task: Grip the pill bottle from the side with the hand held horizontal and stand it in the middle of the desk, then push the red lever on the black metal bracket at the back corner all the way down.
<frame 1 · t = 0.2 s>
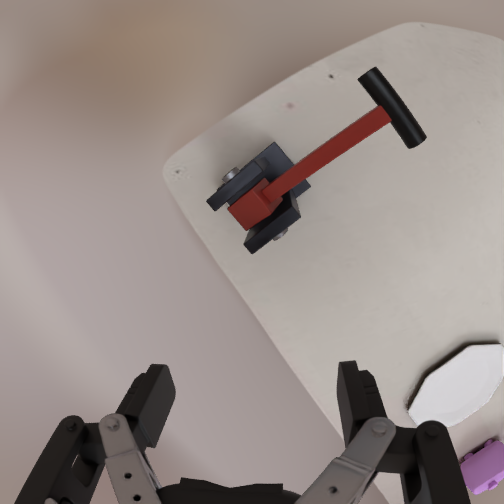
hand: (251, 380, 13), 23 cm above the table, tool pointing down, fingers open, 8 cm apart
bracket: (264, 186, 33), on the table
teapot: (478, 453, 47), on the table
plate: (458, 385, 40), on the table
lever: (313, 161, 19), point 13 cm above the table, hinge at 25.0°
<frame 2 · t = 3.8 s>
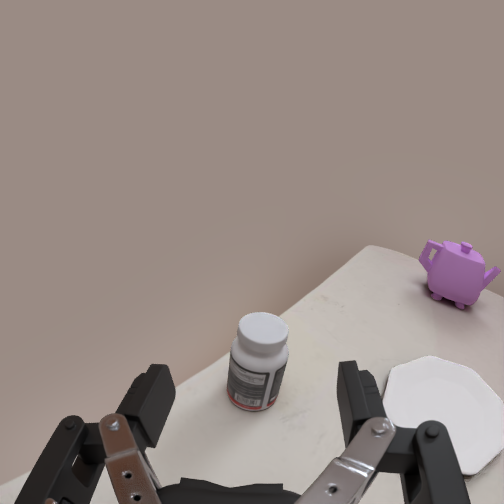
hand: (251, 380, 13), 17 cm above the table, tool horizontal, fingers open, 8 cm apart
pill bottle: (251, 394, 32), on the table
teapot: (448, 296, 58), on the table
plate: (445, 415, 29), on the table
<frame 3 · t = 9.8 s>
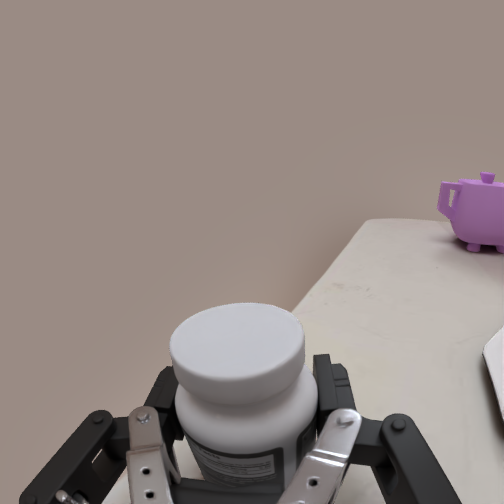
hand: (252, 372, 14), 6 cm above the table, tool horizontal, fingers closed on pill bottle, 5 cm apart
pill bottle: (259, 477, 13), on the table, touching gripper
teapot: (484, 245, 42), on the table
when the fingers open (6 cm above the table, at t = 18.7 s): pill bottle stays where it is, on the table.
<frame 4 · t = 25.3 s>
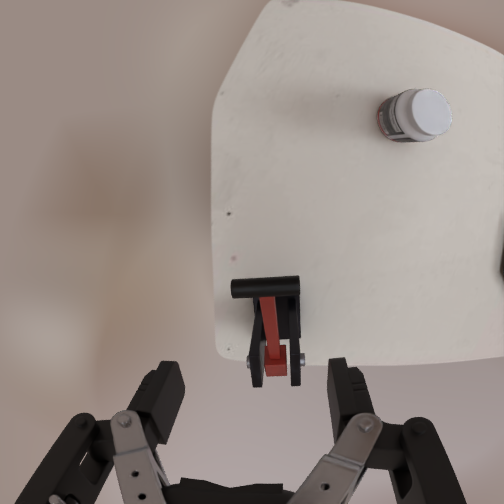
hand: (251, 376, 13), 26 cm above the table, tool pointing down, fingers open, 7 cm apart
pill bottle: (396, 120, 32), on the table
bracket: (277, 310, 41), on the table
lever: (272, 332, 27), point 13 cm above the table, hinge at 24.3°
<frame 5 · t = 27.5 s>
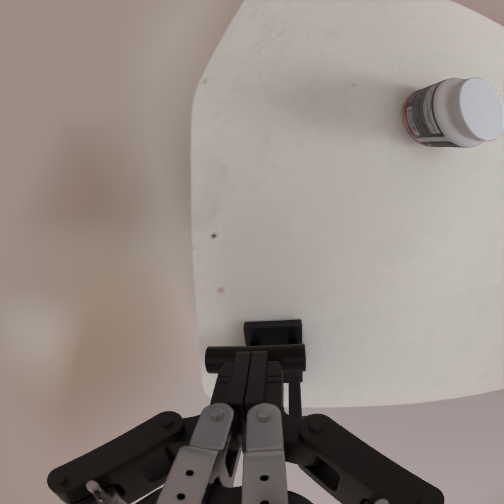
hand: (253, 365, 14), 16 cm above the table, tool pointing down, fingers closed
pill bottle: (425, 118, 24), on the table
bracket: (275, 350, 33), on the table
lever: (266, 402, 19), point 13 cm above the table, hinge at 22.5°, touching gripper
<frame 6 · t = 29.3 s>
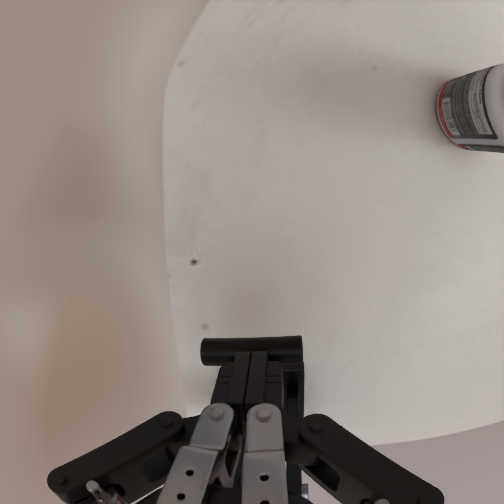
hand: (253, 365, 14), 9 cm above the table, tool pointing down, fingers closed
pill bottle: (461, 114, 18), on the table
bracket: (271, 393, 27), on the table
lever: (260, 441, 16), point 10 cm above the table, hinge at -11.3°, touching gripper
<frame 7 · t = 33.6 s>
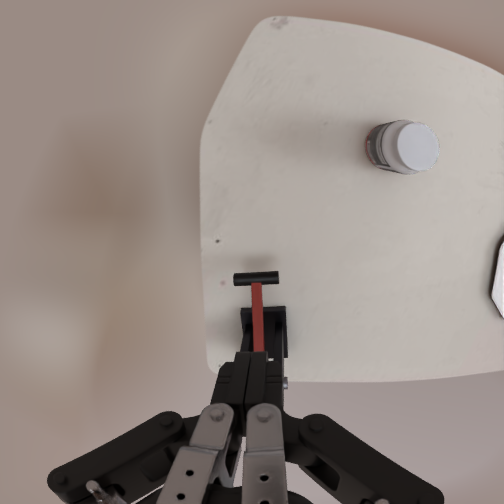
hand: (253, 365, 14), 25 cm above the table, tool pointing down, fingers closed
pill bottle: (385, 147, 33), on the table
bracket: (265, 331, 42), on the table
lever: (258, 335, 33), point 8 cm above the table, hinge at -29.8°
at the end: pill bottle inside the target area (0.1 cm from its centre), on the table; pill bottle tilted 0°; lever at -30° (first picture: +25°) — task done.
